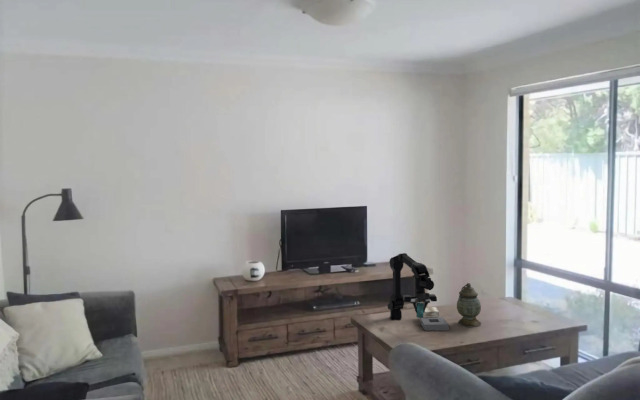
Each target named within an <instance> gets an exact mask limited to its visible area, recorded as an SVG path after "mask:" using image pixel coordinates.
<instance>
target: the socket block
mask: <svg viewBox="0 0 640 400" xmlns="http://www.w3.org/2000/svg"><path fill="white" fill-rule="evenodd" d="M419 319H420V320H419V323H420V325H421V327H422V329H423V330H424V331H449V323H448V322H447V320H446V318H445V317H444V316H423V318H419Z"/></svg>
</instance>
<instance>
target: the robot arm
mask: <svg viewBox="0 0 640 400" xmlns="http://www.w3.org/2000/svg"><path fill="white" fill-rule="evenodd" d="M404 264H405V265H406V266H407V267H409V268H410V269H411V272H412V273H413V275H412V278H413V279H414V295H413V296H411V294H403V295H402V291H401V290H402V288H401V287H402V284H401V283H402V282H401V281H402V280H401V278H402V275H401V271H402V270H403V268H404ZM389 267H390V269H391V271H392V294H391V296H390V300H389V302H388V304H387V309H388V310H389V311H390V312H389V318H390V320H391V321H392V320H393V321H396V320H398V321H399V320H400V321H401V320H402V315H403V314H402V310H403V309H404V305H405V303H411V304H412V306H413V308H414V312H415V314H416V313H417V309H416V303H418V302H421V303H423V313H424V312H425V309H426V307H428V304H431V302H437V301H438V298H437V295H436V294H433V293H431V294H430V293H429V292H426V291H427V290H428V291H431V290H433V289H434V287H435V283H434V281H433V280H432V278H431V277H430V273H429V271H428V268H427V266H426V265H425V264H423V263H421V262H417V261H416V260H414V259H413V258H412V257H411V256H410V255H408V254H407V253H406V252H404V253H398V254H397V255H395V256H393V257H391V258H389Z"/></svg>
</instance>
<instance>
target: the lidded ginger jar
mask: <svg viewBox="0 0 640 400" xmlns="http://www.w3.org/2000/svg"><path fill="white" fill-rule="evenodd" d="M458 294H459V295H458V299H457V301H456V310H457V312H458V314H459V315H460V316H462V318H460V319H459V320H458V322H457V323H458V325H460V326H462V327H465V328H477V327H481V326H482V323H481V321H479V319H477V317H478V316H479V314H480V313H481V310H482V305H481V301H480V299H479V298H478V295H479V293H478V292H477V291H476V290H475V289H474V287H473V286H471V283H469V282H467V283H466V284H465V285H463V286H462V287H461V289H460V291H459V292H458Z"/></svg>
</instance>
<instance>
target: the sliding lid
mask: <svg viewBox="0 0 640 400" xmlns="http://www.w3.org/2000/svg"><path fill="white" fill-rule="evenodd" d="M423 317H440V311H439V310H438V308H437V307H436V306H426V309H425V312H424V313H423Z"/></svg>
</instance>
